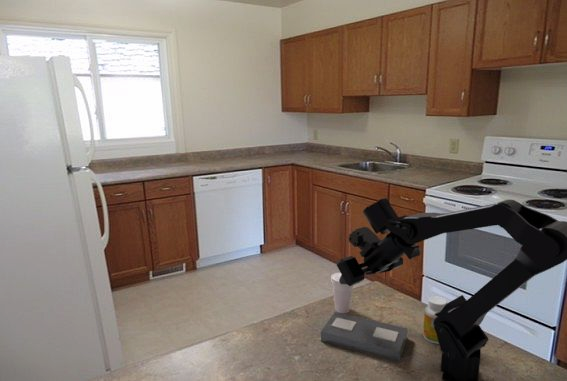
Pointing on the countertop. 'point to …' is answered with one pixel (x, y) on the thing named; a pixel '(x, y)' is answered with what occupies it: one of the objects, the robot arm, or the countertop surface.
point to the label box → (365, 336)
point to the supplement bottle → (432, 317)
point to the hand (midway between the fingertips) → (353, 277)
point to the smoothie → (341, 294)
